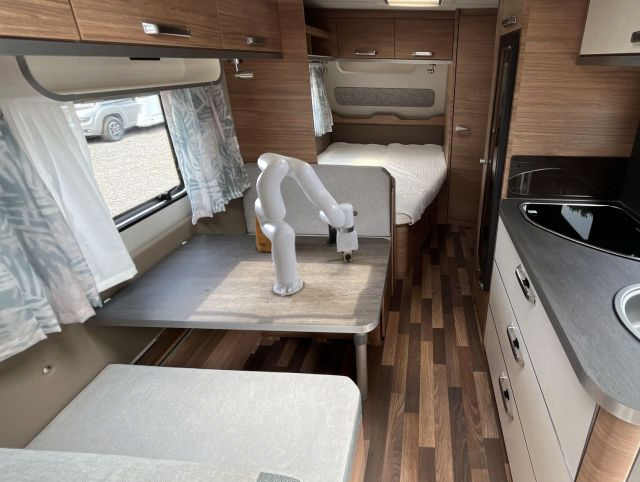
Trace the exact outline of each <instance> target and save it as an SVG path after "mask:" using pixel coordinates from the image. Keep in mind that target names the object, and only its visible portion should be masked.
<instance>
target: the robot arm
mask: <svg viewBox="0 0 640 482" xmlns="http://www.w3.org/2000/svg"><path fill="white" fill-rule="evenodd" d="M257 166H258V167H259V169H260V170H261V172H260V174H259V176H258V177H257V181H256V184H255V186H256V193H257V196H258V197H257V198H256V200H255V201H254V211H255V212H256V215H257V218H258V221H259V224H260V227H261V229H262V231H263V233H264V234H265V235H266V236H267V237H268V238H269V239H270V241H271V243H272V252H271V259H272V264H273V272H274V278H275V283H274V284H273V287H272V291H273V293H274V294H276V295H278V296H282V297H285V296H289V295H292V294H295V293H298V292H299V291H300V290H301V289H302V288H303V286H304V281H303V279H301V278H300V277H299V270H298V264H297V263H298V262H297V253H296V232H295V231H294V228H293V227H292V226H291V225H290V224H289V223H287V222H286V221H285V218H286V216H287V209H286V206H285V202H284V199H283V196H282V191H281V183H282V181H283V180H284V178H285V177H290V178H292V179H294V180H295V181H296V183H297V184H298V186H299V187H300V189H301V190H302V192H303V193H304V195H305V196H306V198H307V199H308V200H309V201H310V202H311V203H312V204H313V205H314V206H316V207H317V208H318V209H319V210H320V211H319V217H320V219H321V220H322V221H323V222H324V223H326V224H327V225H328V224H330V225H331V226H333V227H335V229H336V230H337V243H336V252H337V253H341V254H343V256H344V255H345V260H347V262H346V263H351V261H350V260H351V257H352V255H353V253H354V252H355V251H356V252H357V251H358V250H359V242H358V241H359V240H358V233H357V230H356V229H355V219H354V218H355V216H353V211H354V206H353V205H352V204H351V203H347V202H344V203H340V204H338V202H337V200H335V198H334V197H333V196H332V195H331V193H330V192H329V191H328V190H327V189H326V187H325V186H324V185H323V183H322V181H321V180H320V178H319V177H318V175H317V173H316V171H315V170H314V168H313V167H312V165H310V163H308V162H307V161H304V160H301V159H299V158H295V157H290V156H285V155H282V154H279V153H274V152H265V153H262V154H260V156H259V158H258V159H257ZM346 251H349V252H348V253H347V252H346ZM348 260H349V261H348Z"/></svg>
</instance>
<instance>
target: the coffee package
mask: <svg viewBox="0 0 640 482" xmlns="http://www.w3.org/2000/svg"><path fill="white" fill-rule="evenodd" d="M254 214H255V215H254V231H255V242H256V243H255V244H256V247H257V251H258V253H261V252H266V253H272V243H271V241H270V239H269V238H268V237H267V236H266V235H265V234H264V233H263V231H262V229H261V227H260V224H259V221H258V218H257V215H256V211H255V213H254Z"/></svg>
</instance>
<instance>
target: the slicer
mask: <svg viewBox="0 0 640 482" xmlns="http://www.w3.org/2000/svg"><path fill="white" fill-rule="evenodd" d="M327 226H328V244H329V245H337V231H338V230H336V229H335V227H333V226H331V225H330V224H328V223H327Z"/></svg>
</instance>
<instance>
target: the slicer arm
mask: <svg viewBox="0 0 640 482" xmlns="http://www.w3.org/2000/svg"><path fill="white" fill-rule="evenodd" d="M358 214H359V213H358V211H357V210H353V216H354V217H357V216H358Z"/></svg>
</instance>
